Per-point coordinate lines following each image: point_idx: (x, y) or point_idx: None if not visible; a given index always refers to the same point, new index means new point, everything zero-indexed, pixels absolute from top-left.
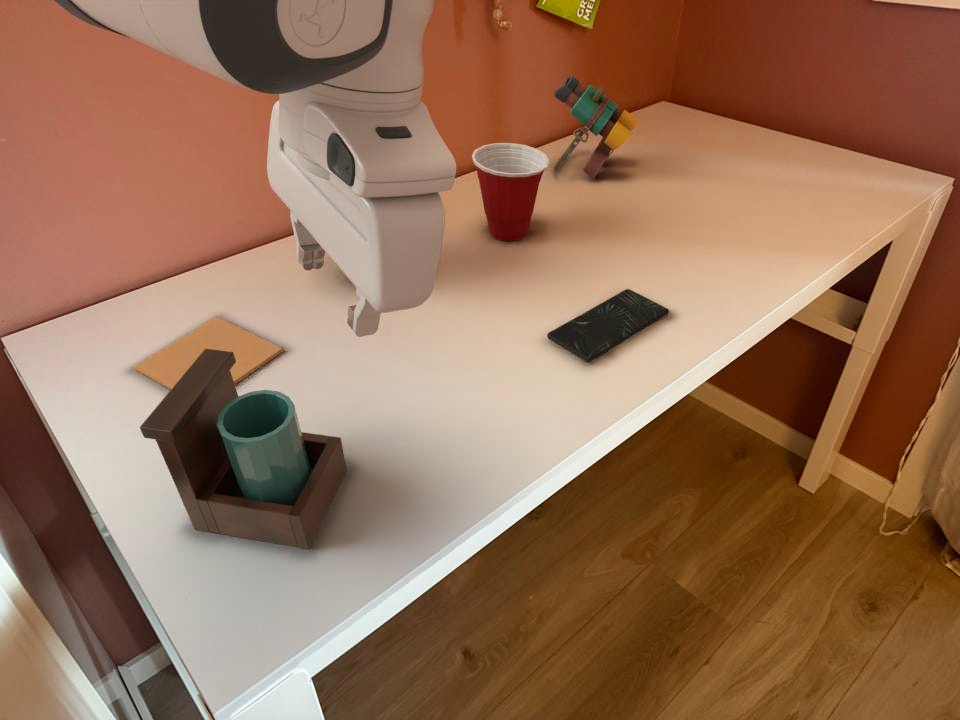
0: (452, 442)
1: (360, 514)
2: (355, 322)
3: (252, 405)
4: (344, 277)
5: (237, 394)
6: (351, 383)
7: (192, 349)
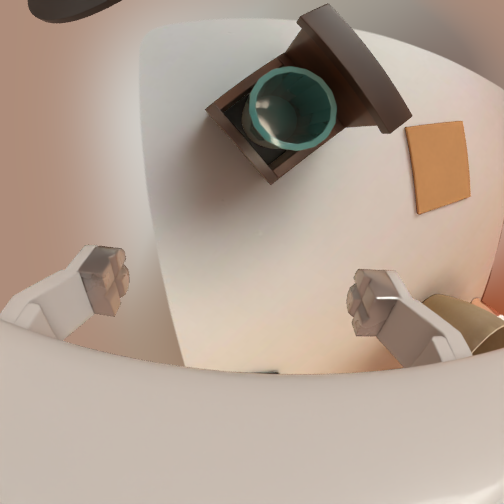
0: (234, 264)
1: (213, 163)
2: (77, 259)
3: (324, 119)
4: (439, 294)
5: (362, 125)
6: (351, 236)
7: (456, 161)
